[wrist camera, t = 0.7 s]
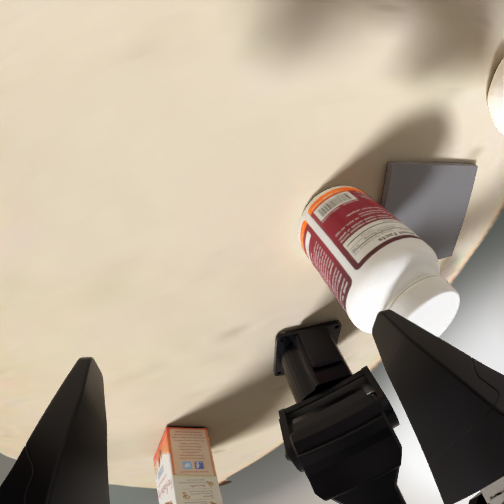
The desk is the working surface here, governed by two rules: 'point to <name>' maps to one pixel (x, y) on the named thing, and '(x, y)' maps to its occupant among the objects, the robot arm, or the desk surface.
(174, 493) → the cracker box
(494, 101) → the cat figurine
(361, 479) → the robot arm
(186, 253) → the desk surface
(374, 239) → the pill bottle
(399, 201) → the mat
